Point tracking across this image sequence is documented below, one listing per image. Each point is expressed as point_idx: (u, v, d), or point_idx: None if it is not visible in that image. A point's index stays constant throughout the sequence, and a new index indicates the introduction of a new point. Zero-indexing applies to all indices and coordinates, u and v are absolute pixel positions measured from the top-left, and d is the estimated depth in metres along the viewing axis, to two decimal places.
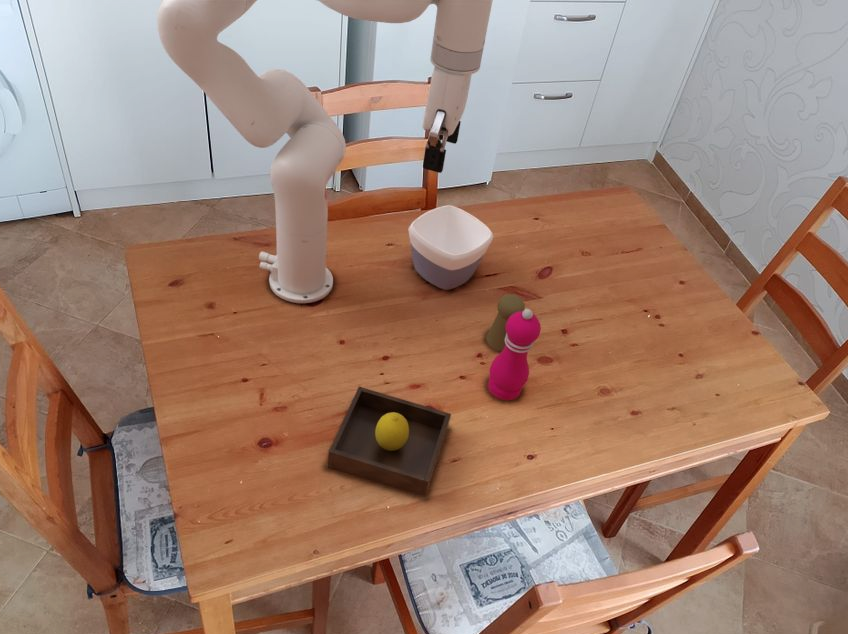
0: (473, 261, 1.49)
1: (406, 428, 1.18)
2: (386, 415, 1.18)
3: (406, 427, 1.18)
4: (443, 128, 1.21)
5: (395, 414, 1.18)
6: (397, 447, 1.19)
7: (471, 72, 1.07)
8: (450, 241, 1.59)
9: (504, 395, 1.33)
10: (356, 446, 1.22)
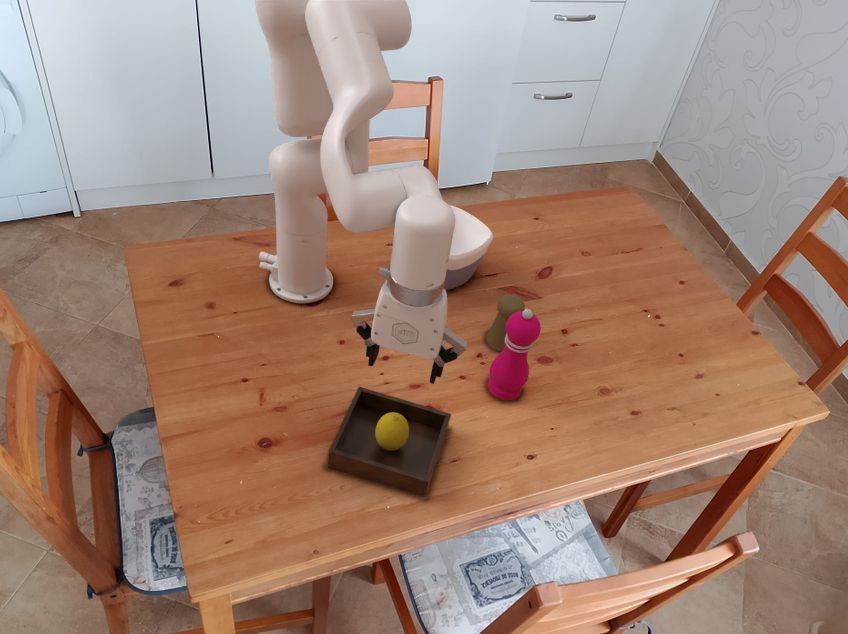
0: (473, 261, 1.49)
1: (406, 428, 1.18)
2: (386, 415, 1.18)
3: (406, 427, 1.18)
4: (374, 354, 1.09)
5: (395, 414, 1.18)
6: (397, 447, 1.19)
7: None
8: None
9: (504, 395, 1.33)
10: (356, 446, 1.22)
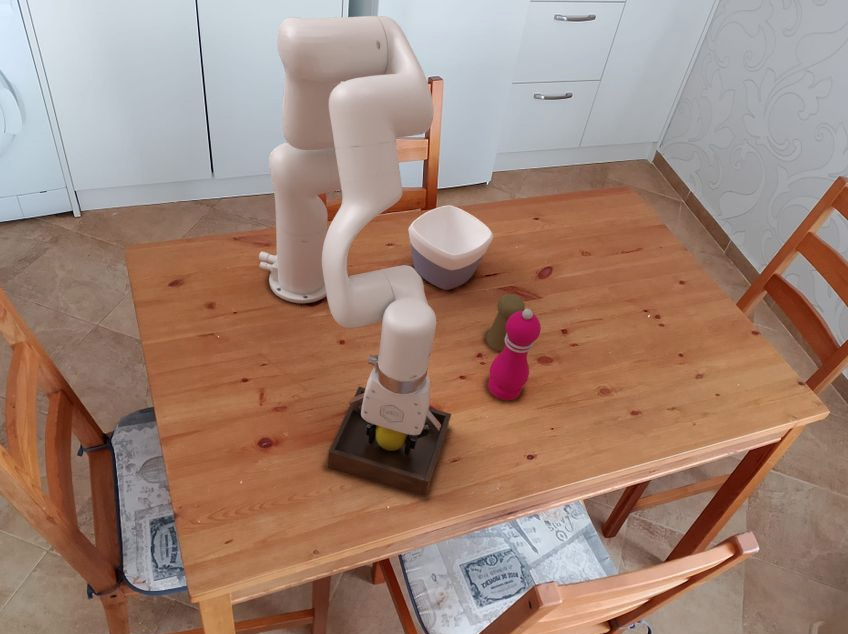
0: (473, 261, 1.49)
1: None
2: None
3: None
4: (374, 433, 1.20)
5: None
6: (397, 447, 1.19)
7: None
8: (450, 241, 1.59)
9: (504, 395, 1.33)
10: (356, 446, 1.22)
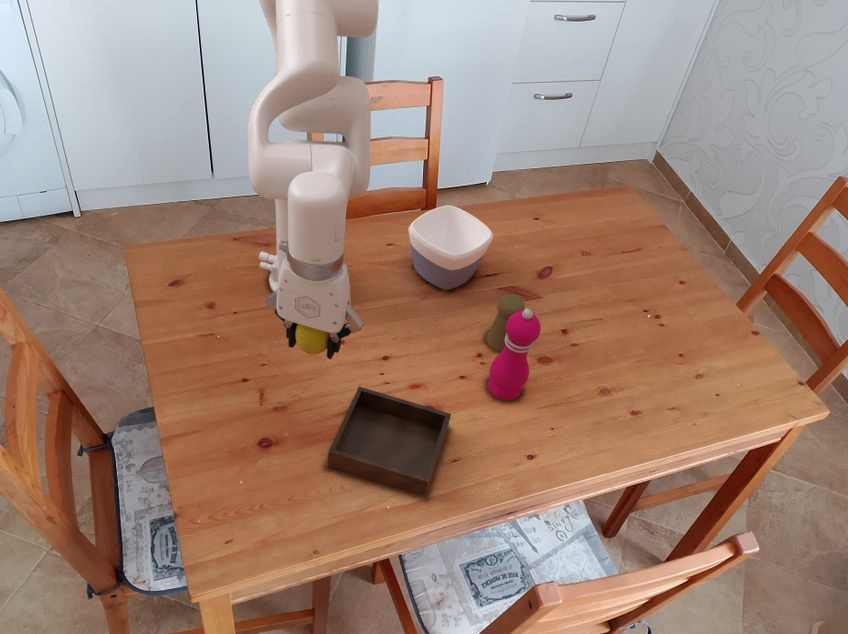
0: (473, 261, 1.49)
1: None
2: None
3: None
4: (294, 336, 1.12)
5: None
6: (318, 349, 1.11)
7: None
8: (450, 241, 1.59)
9: (504, 395, 1.33)
10: (356, 446, 1.22)
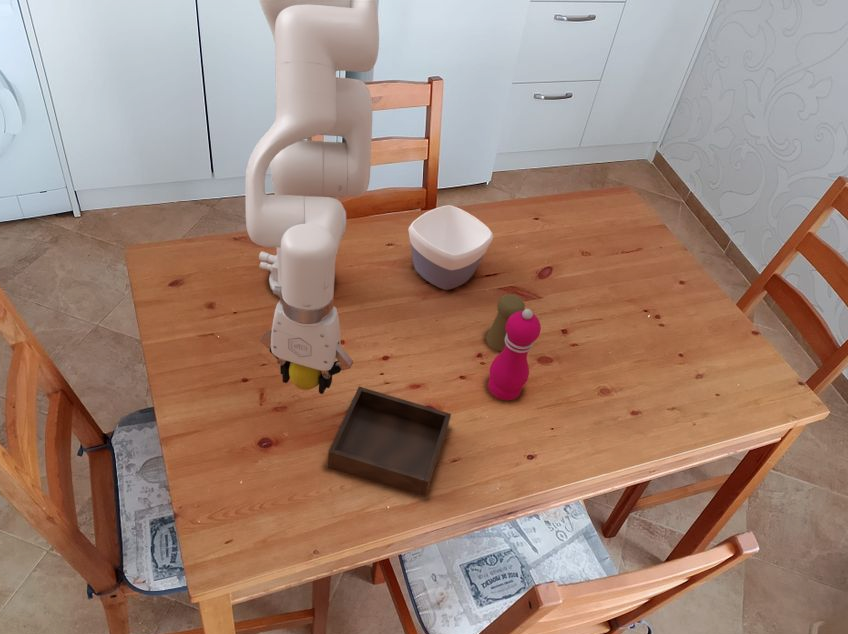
0: (473, 261, 1.49)
1: None
2: None
3: None
4: (288, 372, 1.18)
5: None
6: (310, 385, 1.17)
7: None
8: (450, 241, 1.59)
9: (504, 395, 1.33)
10: (356, 446, 1.22)
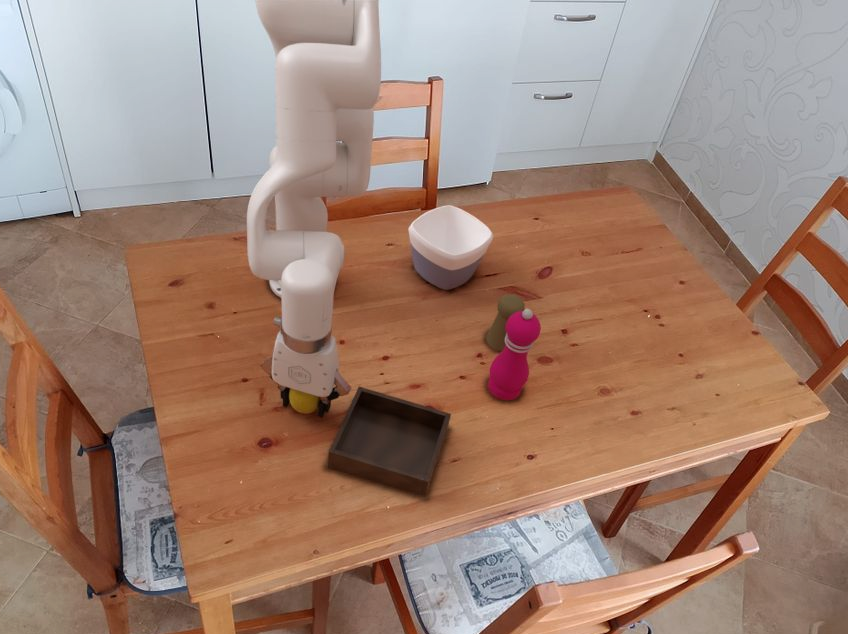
0: (473, 261, 1.49)
1: None
2: None
3: None
4: (288, 397, 1.23)
5: None
6: (310, 409, 1.22)
7: None
8: (450, 241, 1.59)
9: (504, 395, 1.33)
10: (356, 446, 1.22)
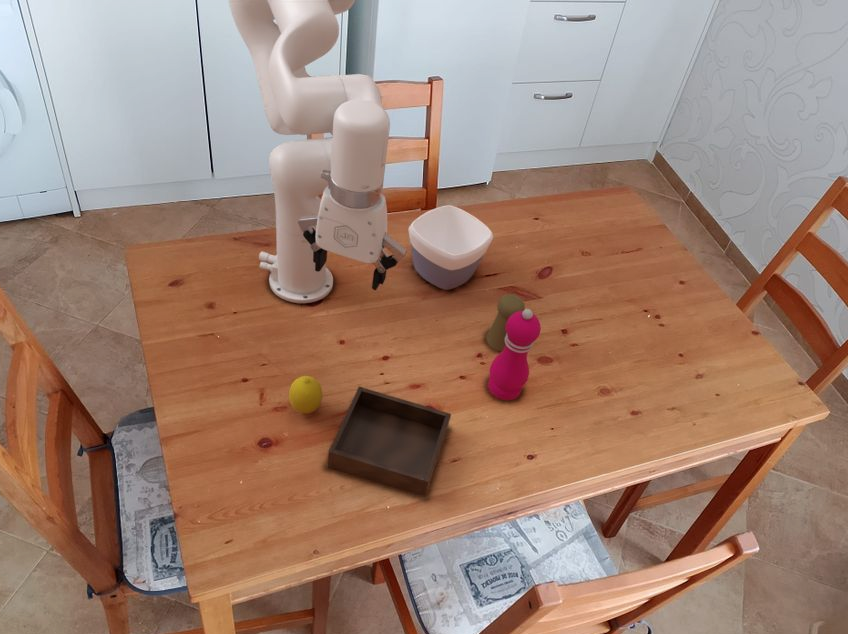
0: (473, 261, 1.49)
1: (318, 391, 1.21)
2: (299, 378, 1.21)
3: (318, 390, 1.21)
4: (321, 259, 1.15)
5: (307, 377, 1.21)
6: (310, 409, 1.22)
7: None
8: (450, 241, 1.59)
9: (504, 395, 1.33)
10: (356, 446, 1.22)
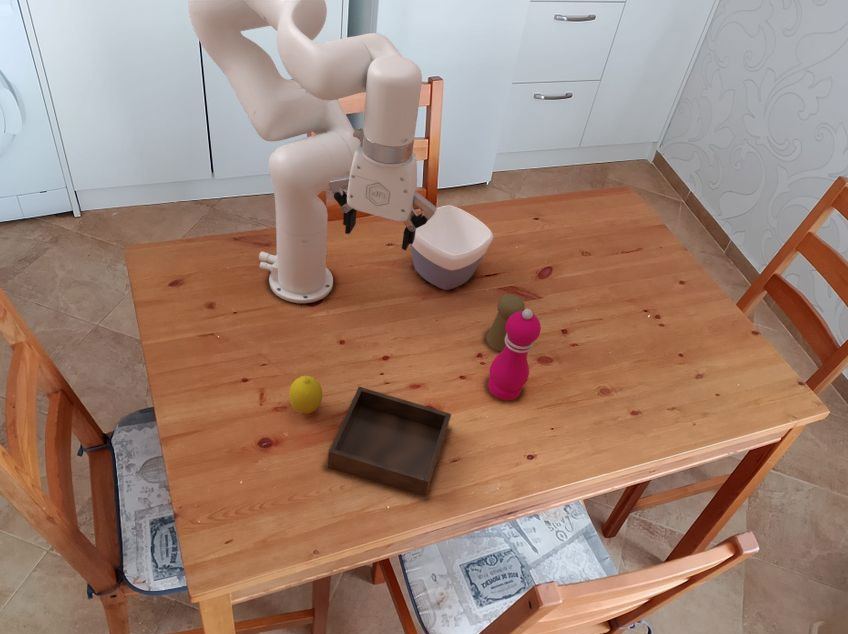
0: (473, 261, 1.49)
1: (318, 391, 1.21)
2: (299, 378, 1.21)
3: (318, 390, 1.21)
4: (351, 221, 1.17)
5: (307, 377, 1.21)
6: (310, 409, 1.22)
7: None
8: (450, 241, 1.59)
9: (504, 395, 1.33)
10: (356, 446, 1.22)
